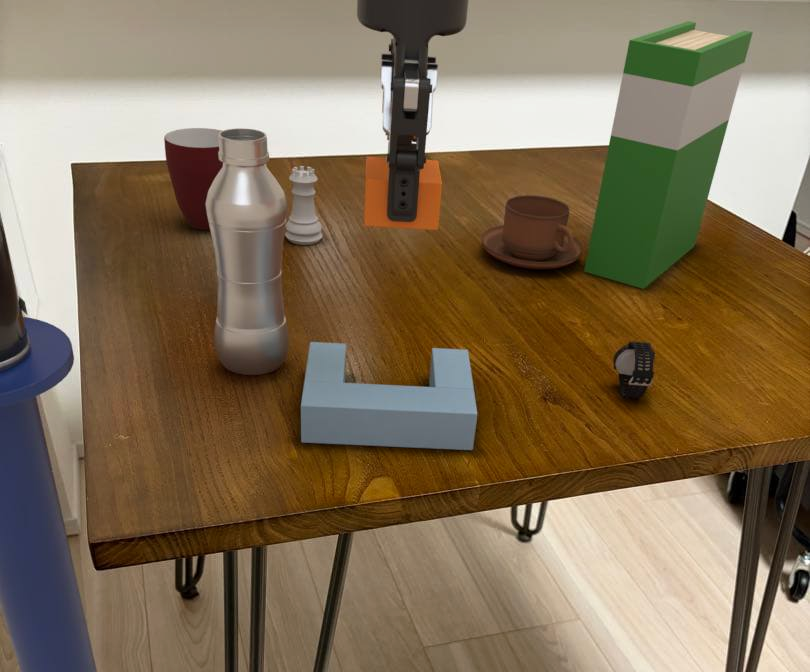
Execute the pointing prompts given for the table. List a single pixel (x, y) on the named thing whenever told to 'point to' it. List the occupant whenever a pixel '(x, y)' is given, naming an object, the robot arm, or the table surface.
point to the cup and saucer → (533, 234)
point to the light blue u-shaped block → (388, 404)
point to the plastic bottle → (248, 255)
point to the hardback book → (663, 150)
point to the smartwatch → (634, 368)
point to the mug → (193, 170)
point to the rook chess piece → (303, 209)
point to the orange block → (379, 196)
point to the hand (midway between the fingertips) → (400, 205)
